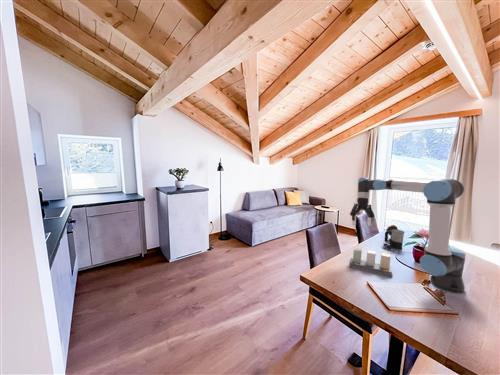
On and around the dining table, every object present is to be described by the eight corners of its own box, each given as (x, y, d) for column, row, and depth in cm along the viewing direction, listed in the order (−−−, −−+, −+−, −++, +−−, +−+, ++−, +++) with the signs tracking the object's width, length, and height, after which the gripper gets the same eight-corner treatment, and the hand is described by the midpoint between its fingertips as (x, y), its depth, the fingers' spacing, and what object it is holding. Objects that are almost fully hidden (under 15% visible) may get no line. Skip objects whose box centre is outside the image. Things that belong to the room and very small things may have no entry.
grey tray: (350, 259, 157) (351, 255, 157) (390, 268, 146) (390, 264, 145) (349, 267, 147) (350, 262, 146) (392, 277, 135) (393, 272, 134)
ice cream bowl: (402, 242, 192) (404, 226, 190) (389, 242, 193) (391, 226, 191) (394, 238, 203) (396, 223, 201) (382, 238, 203) (384, 223, 201)
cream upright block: (366, 262, 151) (367, 250, 149) (374, 263, 148) (375, 251, 147) (366, 264, 147) (367, 252, 145) (374, 266, 144) (375, 254, 143)
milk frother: (402, 246, 183) (404, 230, 181) (403, 253, 170) (405, 236, 168) (383, 243, 191) (384, 227, 189) (383, 249, 177) (384, 232, 175)
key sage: (353, 259, 155) (354, 247, 153) (360, 260, 152) (361, 249, 151) (352, 261, 151) (353, 249, 149) (360, 263, 148) (361, 251, 147)
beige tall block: (379, 265, 147) (381, 252, 145) (388, 266, 144) (389, 254, 143) (380, 267, 143) (381, 255, 141) (389, 269, 140) (390, 257, 139)
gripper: (372, 199, 168) (371, 225, 166) (345, 196, 162) (344, 224, 160) (380, 199, 160) (379, 227, 159) (352, 196, 154) (351, 225, 153)
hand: (361, 225), depth 160 cm, fingers open, 13 cm apart
